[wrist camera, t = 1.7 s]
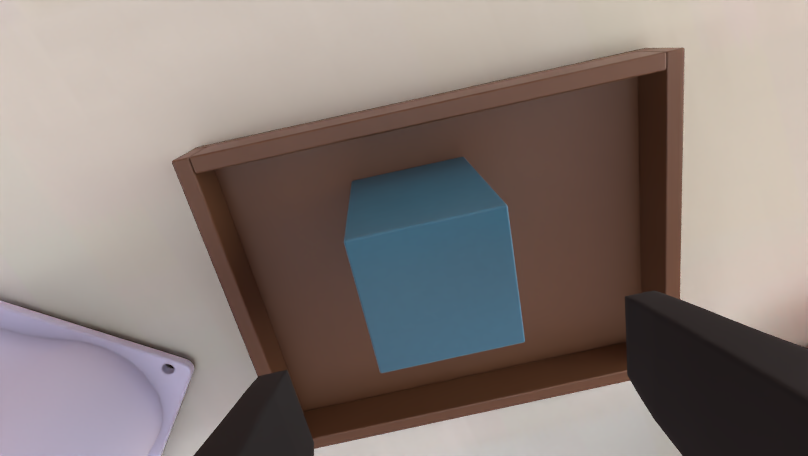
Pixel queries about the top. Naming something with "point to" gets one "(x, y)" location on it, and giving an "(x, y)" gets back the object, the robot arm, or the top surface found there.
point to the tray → (529, 221)
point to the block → (433, 264)
